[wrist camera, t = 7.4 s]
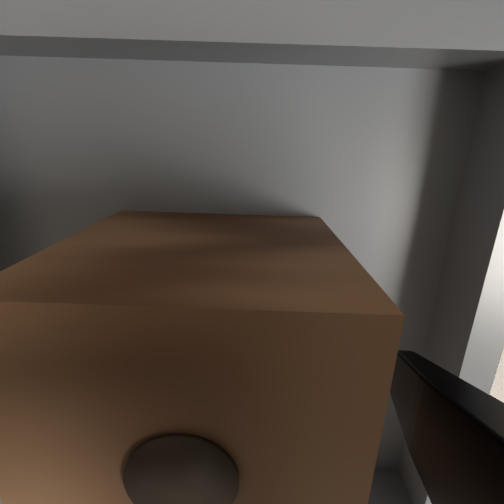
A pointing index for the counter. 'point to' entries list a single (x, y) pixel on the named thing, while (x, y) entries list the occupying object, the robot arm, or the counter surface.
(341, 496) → the block
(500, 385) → the counter surface
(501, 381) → the counter surface
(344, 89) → the tray
